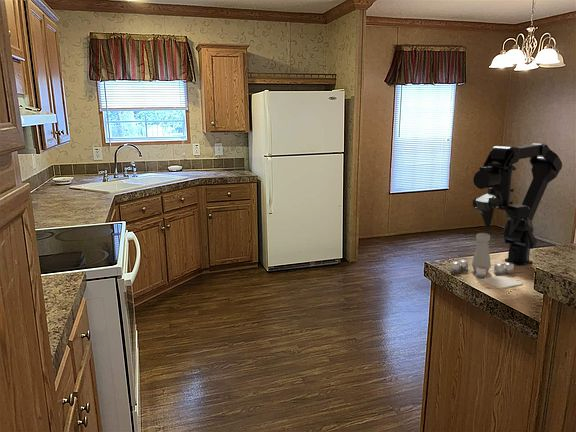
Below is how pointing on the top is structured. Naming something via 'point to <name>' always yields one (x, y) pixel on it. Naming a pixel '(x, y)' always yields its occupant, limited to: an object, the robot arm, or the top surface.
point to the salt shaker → (482, 252)
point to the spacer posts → (482, 268)
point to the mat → (501, 282)
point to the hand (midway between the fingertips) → (498, 231)
